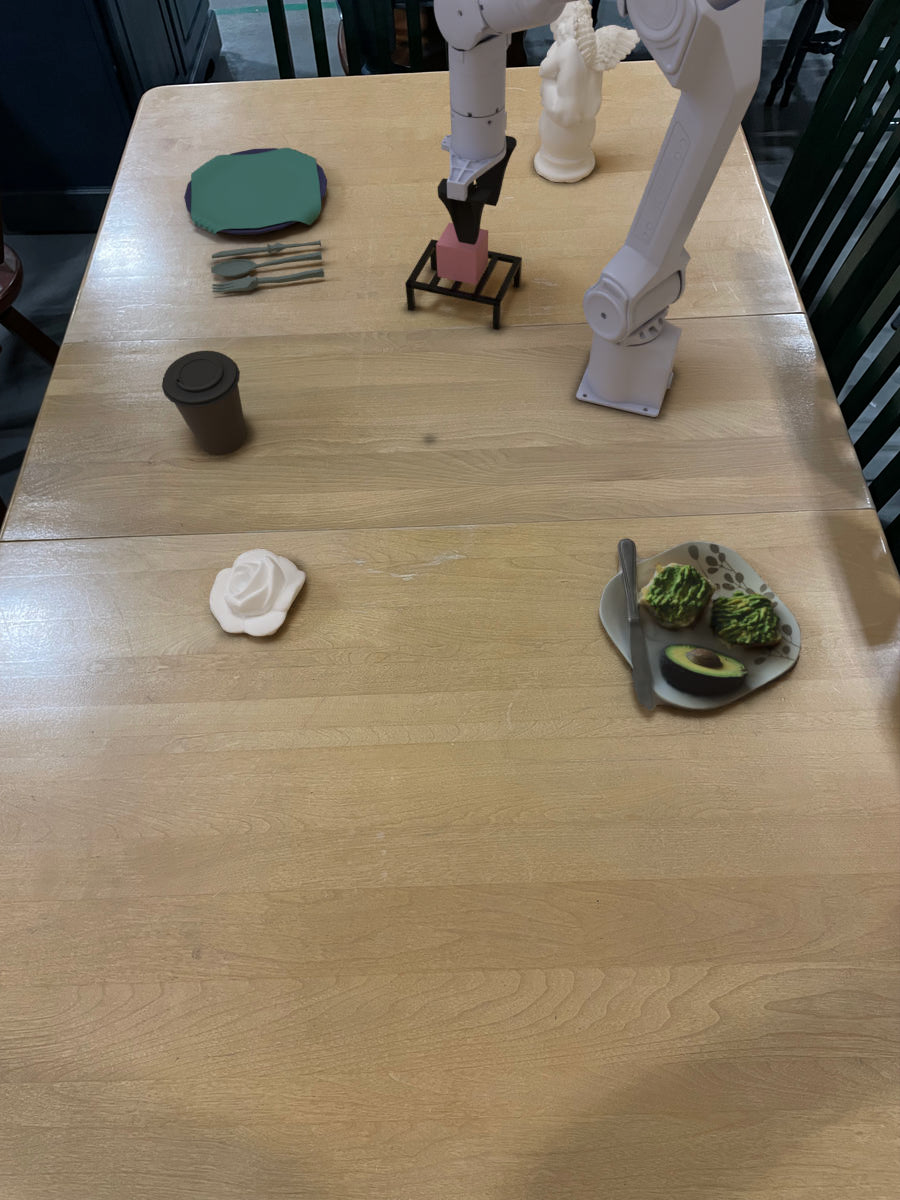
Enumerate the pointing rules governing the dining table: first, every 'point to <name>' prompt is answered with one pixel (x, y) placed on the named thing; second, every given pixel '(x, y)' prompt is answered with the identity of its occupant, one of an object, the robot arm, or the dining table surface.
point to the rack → (454, 290)
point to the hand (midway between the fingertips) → (478, 222)
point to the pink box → (461, 256)
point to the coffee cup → (208, 399)
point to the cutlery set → (257, 206)
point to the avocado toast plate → (697, 626)
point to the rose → (255, 593)
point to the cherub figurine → (575, 90)
